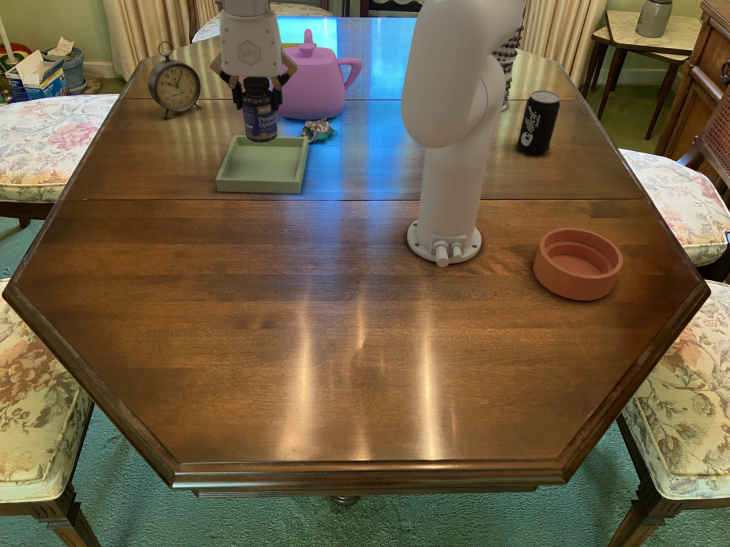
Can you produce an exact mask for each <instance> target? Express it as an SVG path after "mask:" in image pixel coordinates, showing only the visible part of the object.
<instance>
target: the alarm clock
mask: <svg viewBox="0 0 730 547" xmlns="http://www.w3.org/2000/svg"><path fill="white" fill-rule="evenodd" d="M165 43H167V44H168V45H169V46H170V48H171V50H170V53H169V54H168V53H165V54H162V52H161V51H160V48H161V45H163V44H165ZM173 48H174V47H173V45H172V43H171V42H170V41H167V40H163V41H161V42H160V43H159V44H158V47H157V51H158V54H159V55H160V56H161V57H163V58H165V59H163V60H161V61H159V62H157V63H156V64H155V65H154V66H153V67H152V68H151V70H150V72H149V74H148V79H147V89H148V92H149V95H150V96H151V98H152V100H153V101H154V102H155V103H156V104H157V105H159V106H160V107H162V108H164V109H165V111H164V116H162V117H163V119H164V120H167V116H168V115H169V113H170V112H172V113H183V112H186V111H189V110H190V109H191V108H193V107H194V106H195V107H196V108H197V109H200V108H201V106H200V105H198V100H199V98H200V95H201V90H202V85H201V79H200V76H199V74H198V73H197V71H196V70H195V69H194V68H193V67H192V66H191V65H189V64H187V63H185V62H183V61H181V60H179V59H174V58H170V56H171V55H172V54H173Z"/></svg>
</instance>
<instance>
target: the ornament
mask: <svg viewBox="0 0 730 547" xmlns="http://www.w3.org/2000/svg"><path fill="white" fill-rule="evenodd" d="M311 134H313V135H312V137H311ZM333 134H335V130H334V128H333V127H332V126H330V121H327V118H323V119H317V120H314V121H312V119H307V120H306V121H305V122H304V126H303V127H302V130H301V132H300V137H308V144H311V143H316V141H317V140H324V139H328V138H329V137H330V135H331V136H332V135H333Z"/></svg>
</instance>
